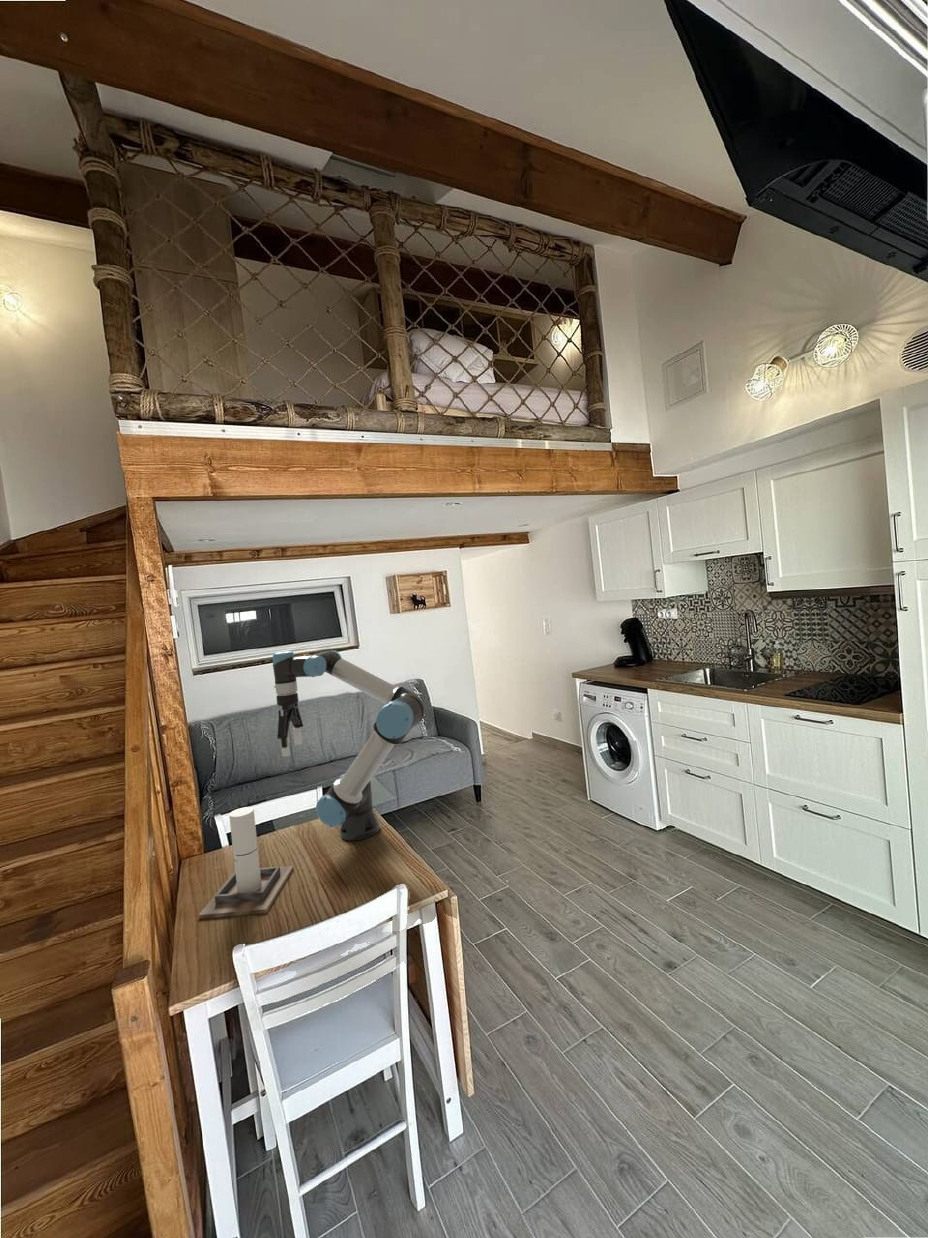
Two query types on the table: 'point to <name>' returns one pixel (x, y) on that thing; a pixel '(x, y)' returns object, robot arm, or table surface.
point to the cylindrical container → (245, 850)
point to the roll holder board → (247, 895)
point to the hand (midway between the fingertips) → (292, 750)
